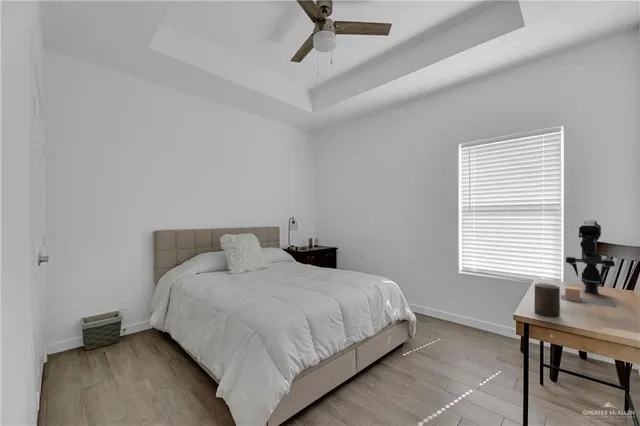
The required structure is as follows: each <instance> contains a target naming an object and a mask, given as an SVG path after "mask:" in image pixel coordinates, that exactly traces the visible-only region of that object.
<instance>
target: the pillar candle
mask: <svg viewBox="0 0 640 426" xmlns="http://www.w3.org/2000/svg"><path fill="white" fill-rule="evenodd" d="M555 285H556V284H555ZM555 285H549V284H537V283H535V284H534V302H533V304H534V313H535V314H537V315H540V316H542V317H548V318H559V317H561V314H560V312H561V308H560V307H561V306H560V305H561V302H560V301H561V293H560V291H561V289H560V286H557V285H556V286H555Z"/></svg>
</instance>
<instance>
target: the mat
mask: <svg viewBox="0 0 640 426" xmlns="http://www.w3.org/2000/svg"><path fill="white" fill-rule="evenodd" d="M561 300H562V301H567V302H568V301H569V302H573V303H575V302H576V303H582V304H588V305H597V306H600V307H608V308H615V309H618V306H617V305H616V303H615V302H614V301H611V300H609V301H608V300H603V299H595V298H589V297H588V298H587V297H581V296H580V301H577V300H570V299H566V298H565V294H560V301H561Z"/></svg>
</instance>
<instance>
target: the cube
mask: <svg viewBox="0 0 640 426" xmlns="http://www.w3.org/2000/svg"><path fill="white" fill-rule="evenodd" d="M564 290H565V294H564V295H565V298H566V299H570V300H577V301H580V297H581V289H580V287H577V286H569V285H565V288H564Z"/></svg>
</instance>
